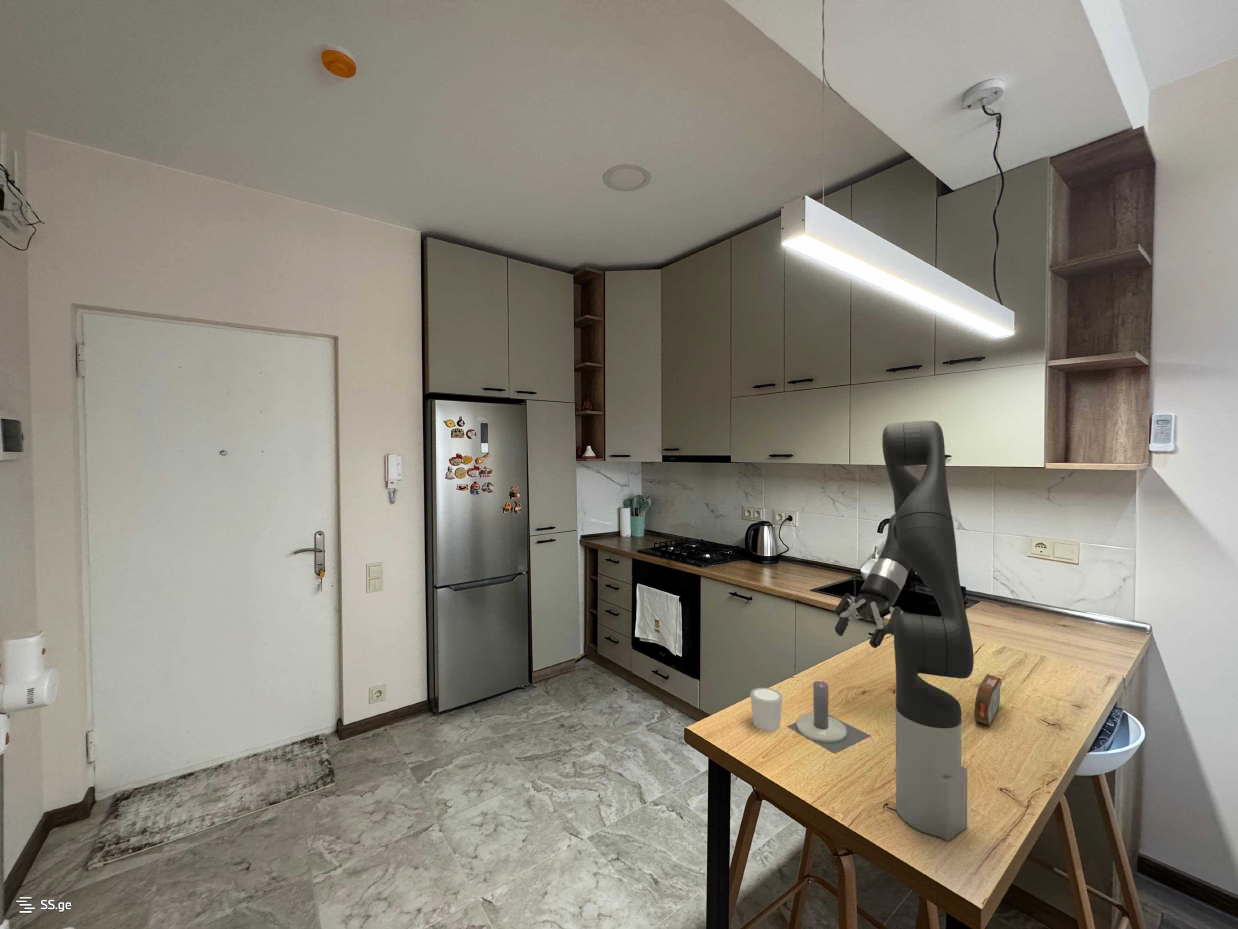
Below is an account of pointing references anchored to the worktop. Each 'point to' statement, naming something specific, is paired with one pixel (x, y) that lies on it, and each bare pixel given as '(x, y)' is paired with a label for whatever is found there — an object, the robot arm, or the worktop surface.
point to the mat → (851, 738)
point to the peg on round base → (821, 719)
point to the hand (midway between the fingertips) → (854, 639)
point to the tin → (987, 699)
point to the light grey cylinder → (766, 708)
